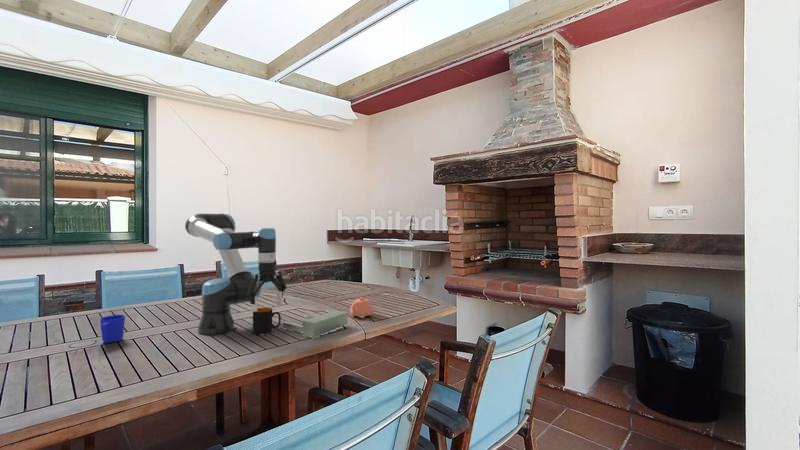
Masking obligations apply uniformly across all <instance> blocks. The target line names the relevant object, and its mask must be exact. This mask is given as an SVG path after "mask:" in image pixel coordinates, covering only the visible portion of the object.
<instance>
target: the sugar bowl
mask: <svg viewBox="0 0 800 450" xmlns="http://www.w3.org/2000/svg"><path fill="white" fill-rule="evenodd" d="M349 313H350V315H351V316H352V315H353V316H368V315H371V316H372V314H373V313H374V309H373V305H372V303H371V302H370V301H369V299H366V298H365V297H363V296H360V297H359V298H356V299H355V300H354V301H353V302H352V304H351V307H350V308H349ZM353 316H352V317H353Z"/></svg>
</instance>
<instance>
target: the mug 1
mask: <svg viewBox="0 0 800 450" xmlns="http://www.w3.org/2000/svg"><path fill="white" fill-rule="evenodd" d="M125 320H126V315H125V314H114V315H113V314H112V315H107V316H104V317H101V318H100V319H99V321H100V331H101V338H102V339H101V340H102V342H103V343H106V344H108V343H109V344H110V343H116V342H119V341H121V340H122V339H123V338H124V332H125V331H124V330H125Z"/></svg>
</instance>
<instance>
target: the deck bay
mask: <svg viewBox="0 0 800 450" xmlns="http://www.w3.org/2000/svg"><path fill="white" fill-rule="evenodd" d="M346 324H347V325H348V311H344V310H343V311H342V310H338V309H337V310H332V311H329V312H326V313H323V314H320V315H314V314H307V319H303V320H302V324H298V323H293V322H290V321H289V322H288V321H283V322H282V329H283V328H286V329H290V330H295V331H299V332H303V334H302V336H303V335H307V336H311V337H316V336H319V335H321V334H324V333H326V332H329V331H331V330H334V329H336V328H339V327H341V326H344V325H346ZM286 329H285V330H286ZM290 330H289V331H290Z"/></svg>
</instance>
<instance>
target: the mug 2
mask: <svg viewBox="0 0 800 450" xmlns="http://www.w3.org/2000/svg"><path fill="white" fill-rule="evenodd" d="M275 315H278V324H277V325H274V323H273V318H274V316H275ZM281 319H282V318H281V313H280V312H278V311H274V312H273V308H271V307H261V308H258V307H257V311H256V312H255V311H252V334H253V335H254V334H256V335H255V336H262V335H261V334H267V333H270V332H272V333H273V329H275V328H279V326H281V324H282V323H281ZM270 334H271V333H270ZM267 335H268V334H267Z"/></svg>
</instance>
